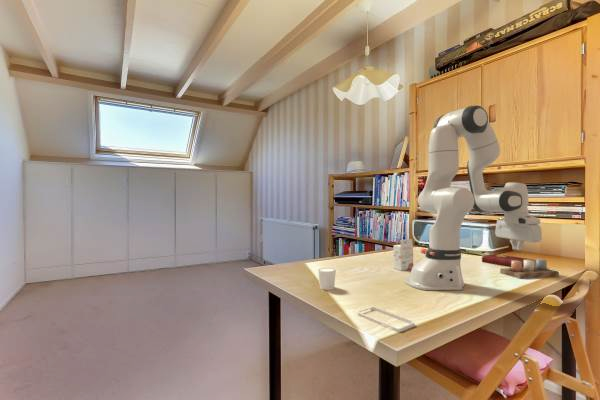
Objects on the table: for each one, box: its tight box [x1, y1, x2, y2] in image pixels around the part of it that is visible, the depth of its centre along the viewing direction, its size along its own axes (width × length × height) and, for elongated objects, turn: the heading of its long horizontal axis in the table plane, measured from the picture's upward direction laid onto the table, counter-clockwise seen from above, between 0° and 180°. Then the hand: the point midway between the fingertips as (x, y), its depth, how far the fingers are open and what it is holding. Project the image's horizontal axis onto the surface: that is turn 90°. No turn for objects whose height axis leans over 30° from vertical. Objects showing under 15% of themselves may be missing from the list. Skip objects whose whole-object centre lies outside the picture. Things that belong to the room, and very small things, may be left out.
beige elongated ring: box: [356, 306, 415, 333], centre depth 86 cm, size 7×1×15 cm
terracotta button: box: [510, 260, 522, 272], centre depth 133 cm, size 4×4×4 cm
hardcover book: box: [481, 253, 536, 268], centre depth 155 cm, size 12×21×4 cm, turn 28°
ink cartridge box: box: [393, 238, 414, 271], centre depth 148 cm, size 9×5×15 cm, turn 118°
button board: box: [499, 267, 560, 280], centre depth 135 cm, size 20×10×2 cm, turn 100°
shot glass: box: [317, 267, 337, 291], centre depth 117 cm, size 7×7×7 cm
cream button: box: [524, 260, 534, 271], centre depth 135 cm, size 4×4×4 cm
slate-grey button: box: [535, 258, 548, 271], centre depth 136 cm, size 4×4×4 cm
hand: (517, 249), depth 134 cm, fingers closed
